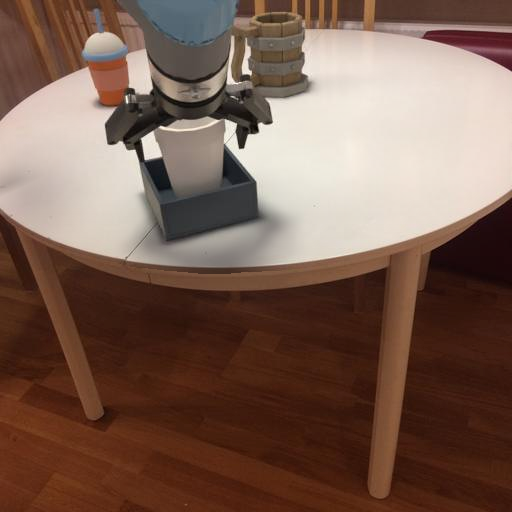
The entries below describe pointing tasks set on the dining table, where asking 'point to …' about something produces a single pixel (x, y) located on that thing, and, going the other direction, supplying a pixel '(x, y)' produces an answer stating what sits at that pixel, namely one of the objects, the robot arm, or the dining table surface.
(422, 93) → the dining table surface
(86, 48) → the cup with straw
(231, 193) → the bin
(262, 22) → the tankard
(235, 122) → the robot arm
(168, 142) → the foam cup
